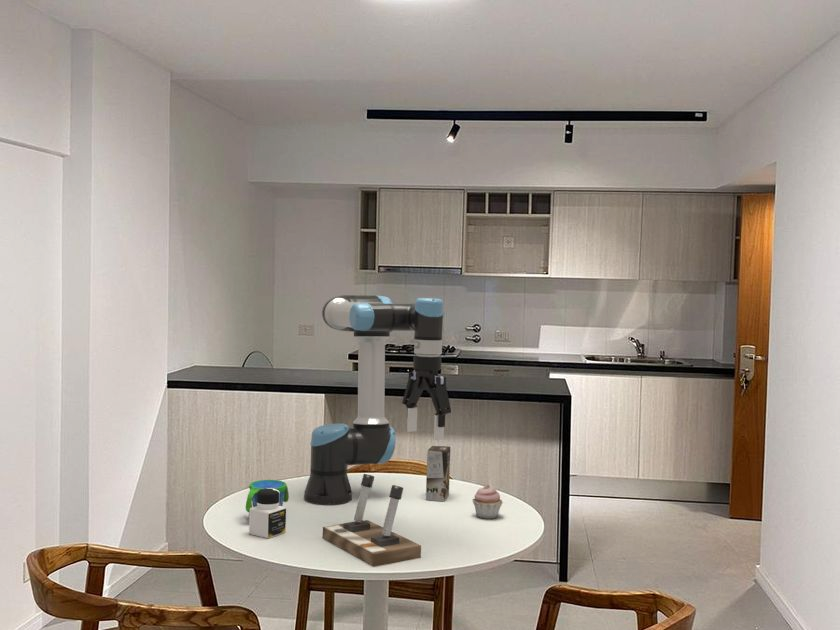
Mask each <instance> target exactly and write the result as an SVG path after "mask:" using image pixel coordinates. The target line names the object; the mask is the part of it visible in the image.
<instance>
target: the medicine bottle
mask: <svg viewBox="0 0 840 630" xmlns="http://www.w3.org/2000/svg"><path fill="white" fill-rule="evenodd" d="M279 498H280V492H279V491H278V490H276V489H273V488H265V489H261V490H259V491H258V492H257V505H258V506H256V507H253V506H252V508H250V513H249V524H248V526H249V527H248V534H249V535H251V536H252V535H253V536H256V537H261V538H264V539H271V538H274V537H277V536H280V535H282V534H285V533H286V530H287V529H286V527H287V525H286V524H287V507H286V506H284V505H283V506H278V505H279Z"/></svg>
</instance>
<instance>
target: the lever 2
mask: <svg viewBox="0 0 840 630" xmlns="http://www.w3.org/2000/svg"><path fill="white" fill-rule="evenodd" d="M403 491H404V487H403V486H400V485H396V484H391V488H390V493H389V495H388V497H389V499H390V500H389V502H388V507H387V510H386V515H385V519H384V523H383V526H382V527H383V530H382V534H383V535H385V536H390V534H391V531H393V530H392V529H393V525H394V523H395V522H394V521H395V517H396V515H397V514H396V513H397V510H398V505H399V502H400V500H401V499H402V495H403Z"/></svg>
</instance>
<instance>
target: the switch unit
mask: <svg viewBox="0 0 840 630" xmlns="http://www.w3.org/2000/svg"><path fill="white" fill-rule="evenodd" d="M382 530H383V526H381V525H379V524H377V523H375V522H372V521H371V520H369V519H365V520H364V519H362V522H356V521H354V520H353V521H350V522H343V523H339V524H333V525H327V526H323V527H322V539H323V538H324V540H325V541H327V542H329V543H331V544H332V543H333V544H332V545H334V546H336V547H338V548H339V549H341V550H344V551H345V552H347V553H348V554H350V553H351V554H350V555H352V556H354V557H356V558H358V559H359V560H361V559H362V561H363V560H364V561H363V562H366V563H367V564H369V565H370V564H371V565H370V566H371V567H372V566H373V567H376V566H382V565H388V564H392V563H398V562H402V561H409V560H412V559H417V558H421V557H422V545H421V544H419V543H417V542H414V541H413V540H410V539H408V538H406V537H404V536H402V535H400V534H398V533H396V532H394V531H393V530H391V534H390V536H385V535H383V534H382Z"/></svg>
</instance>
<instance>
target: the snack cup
mask: <svg viewBox="0 0 840 630" xmlns="http://www.w3.org/2000/svg"><path fill="white" fill-rule="evenodd" d="M287 485H288V484H287V483H286V482H285V481H282V480H278V479H260V480H255V481H252V482H251V483H249V485H248V487H249V491H248V494H247V497H246V502H245V511H246V512H247V513H249V514H250V508H252V507H256V506H258V505H257V492H258V491H259V490H261V489H265V488H273V489H276V490H278V491H279V492H280V498H279V505H278V506H283V507H284V503H287V502H288V501H289V499H290V498H289V497H290V496H289V489H288V486H287Z"/></svg>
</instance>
